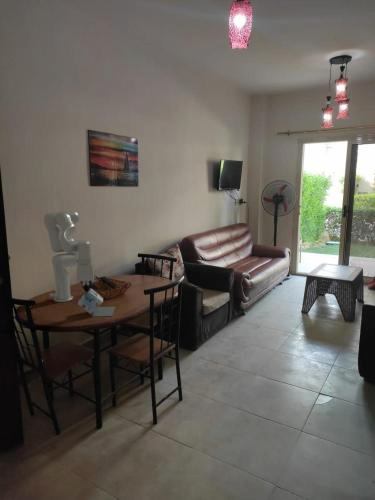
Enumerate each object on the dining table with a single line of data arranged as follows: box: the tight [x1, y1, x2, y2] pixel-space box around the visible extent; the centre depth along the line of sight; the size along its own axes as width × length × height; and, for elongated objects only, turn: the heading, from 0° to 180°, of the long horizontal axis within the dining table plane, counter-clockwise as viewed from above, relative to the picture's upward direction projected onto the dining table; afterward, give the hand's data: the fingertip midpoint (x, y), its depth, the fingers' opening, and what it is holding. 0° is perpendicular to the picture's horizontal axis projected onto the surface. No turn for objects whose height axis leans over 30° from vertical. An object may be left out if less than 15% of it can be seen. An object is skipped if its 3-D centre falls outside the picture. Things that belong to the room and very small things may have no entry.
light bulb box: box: [77, 287, 104, 315], centre depth 217 cm, size 11×7×11 cm
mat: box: [91, 306, 116, 318], centre depth 220 cm, size 12×16×1 cm
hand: (86, 291), depth 215 cm, fingers closed
